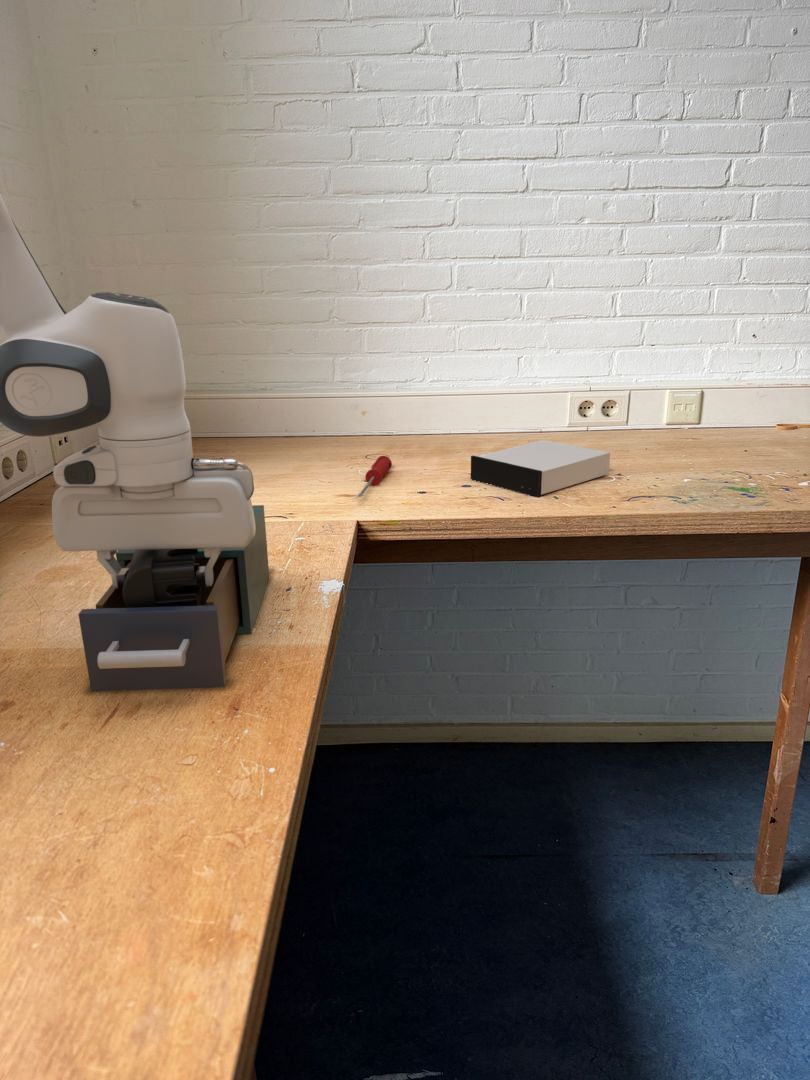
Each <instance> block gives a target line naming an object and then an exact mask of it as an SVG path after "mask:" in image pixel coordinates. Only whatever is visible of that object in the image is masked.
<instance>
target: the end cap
mask: <svg viewBox="0 0 810 1080" xmlns="http://www.w3.org/2000/svg"><path fill="white" fill-rule="evenodd" d="M190 554H198V549H155V550H135V552H134V554H133V557H132V561H131V564H130V567H129V570H128V573H127V576H126V579H125V582H124V586H123V598H124V602H125V604H126V606H127V607H128V608H139V607H175V606H200V599H201V587H198V586H197V579H196V571H197V570H198V567H199V563H197V564H194V563H195V557H194V556H192V557H174V556H177V555H190Z"/></svg>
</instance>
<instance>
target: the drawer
mask: <svg viewBox="0 0 810 1080" xmlns="http://www.w3.org/2000/svg"><path fill="white" fill-rule="evenodd" d="M209 559H210V558H195V563H194V564H197V563H199V566H206V565H207V563H208V561H209ZM131 561H132V560H131ZM131 561H130V562H129V564H128V565H127V566H126V567H125V568H129V567H130V564H131ZM213 577H214V580H213V584H212V586H202V587H201V599H200V606H175V607H139V608H128V607H127V606H126V604H125V602H124V598H123V588H119V589H114V588H113V584H112V583H111V585H110V586H109V588H107V590H106V591H105V592H104V594H103V595H102V596H101V597H100V598H99V600H98V601H97V602H96V604H95V608H82V609H81V610H80V611H79V613H78V614H77V615H78V620H79V626H80V632H81V638H82V645H83V650H84V657H85V662H86V669H87V673H88V674H87V675H88V680H89V686H90V692H117V691H118V692H121V691H122V692H123V691H148V690H149V691H151V690H152V691H153V690H154V691H155V690H180V689H181V690H182V689H183V690H184V689H185V690H187V689H215V688H216V689H217V688H220V689H221V688H226V684H227V676H226V675H227V674H226V667H225V666H226V664H225V663H226V660H227V657H228V654H229V652H230V649H231V647H232V643H233V641H234V638H235V636H236V634H235V633H236V630H237V627H238V625H239V622H240V619H241V608H240V597H239V586H238V575H237V564H236V557H225V558H217V560H216V562H215V564H214V566H213Z"/></svg>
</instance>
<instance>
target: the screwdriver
mask: <svg viewBox="0 0 810 1080" xmlns="http://www.w3.org/2000/svg"><path fill="white" fill-rule="evenodd" d="M392 466H393V462H392V460H391V458H390V457H388V456H387V455H379V456H378V457H377V459H376V460H375V461H374V462H373V464H372V465H371V469H369V470H368V471H366V474H365V481H366V485H365V486H364V487H363V489H362V490H361V491H360V493H358V495H357V497H359V498H361V497H363V496H364V494H365V492H366V491H367V489H368V488H369V487H370V486H377V485H380V483H381V481H382V479H383V478H385V477H386V475H387V474H388V472H389V471H390V469H391V468H392Z"/></svg>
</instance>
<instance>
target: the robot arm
mask: <svg viewBox="0 0 810 1080" xmlns="http://www.w3.org/2000/svg"><path fill="white" fill-rule="evenodd" d="M55 295H56V294H54V292H53V290H52V288H51V287H50V284H49V283H48V281H47V279H46V278H45V276H44V274H43V273H42V271H41V269H40V267H39V266H38V263H37V261H36V260H35V258H34V256H33V255H32V253H31V251H30V249H29V248H28V246H27V244H26V242H25V240H24V238H23V237H22V235H21V233H20V231H19V230H18V228H17V226H16V224H15V222H14V221H13V218H12V217H11V215H10V212H9V210H8V208H7V206H6V203H5V201H4V199H3V196H2V194H1V192H0V329H1V331H2V333H3V336H4V339H5V341H4V342H2V343H0V423H1V425H3V426H4V427H6V428H8V429H9V430H11V431H13V432H15V433H17V434H20V435H23V436H28V437H38V438H39V437H40V438H41V437H43V438H44V437H54V436H59V435H61V434H64V433H69V432H73V431H77V430H81V429H84V428H88V427H96V429H97V432H98V439H99V441H98V442H99V444H96V445H92V446H89V447H87V448H84V449H81V450H78V451H76V452H73V453H72V454H70V455H69V456H67V457H65V458H64V459H62V460H61V461H59V463H57V464H56V465H55V466H54V467H53V470H52V475H53V479H54V481H55V483H56V485H58V486H59V487H58V488H57V489H56V490H55V491H54V494H53V496H52V500H51V519H52V529H53V538H54V541H55V544H57V546H59V548H60V549H62V551H64V552H96V556H97V557H96V558H97V562H99V563H100V565H101V566H102V567H103V568H104V569H105V570H106V573H108V574H109V575H110V577H111V585H112V584H113V588H114V589H119V588H123V586H124V582H125V579H126V576H127V573H128V570H129V568H122V567H121V566H120V564H119V563H118V561H117V559H116V552H117V551H118V550H155V549H200V548H204V555H205V557H210V559H209V561H208V563H207V565H206V566H199V567H198V570H197V571H196V579H197V586H198V587H202V586H212V584H213V580H214V577H213V566H214V564H215V562H216V560H217V558H218V556H219V554H220V552H221V548H242V547H246V546H247V545H248V544H249V543H250V542H251V540H252V539H253V537H254V535H255V531H256V526H255V518H254V512H253V507H252V505H253V504H252V500H251V499H252V497H253V495H254V492H255V486H254V485H255V483H254V474H253V471H252V470H251V468H250V467H249V466H248V465H246V464H245V463H243V462H240V461H238V459H237V458H233V457H232V458H231V457H229V458H224V459H222V458H221V459H217V458H215V459H213V458H194V449H193V442H192V441H193V440H192V432H191V423H190V420H189V418H188V416H187V413H186V409H185V395H186V390H187V388H186V387H187V381H186V373H185V363H184V357H183V350H182V345H181V339H180V335H179V331H178V327H177V324H176V320H175V319H174V317H173V315H172V313H171V312H170V311H169V310H168V309H167V308H166V307H165V306H164V305H162V304H161V303H159V302H158V301H156V300H154V299H152V298H146V297H143V296H138V295H133V294H126V293H119V292H118V293H117V292H116V293H115V292H114V293H113V292H107V291H106V292H105V291H104V292H103V291H102V292H101V291H100V292H95V293H92V294H90V295H89V296H88V297H87V298H86V299H85V300H84V301H83V302H82V303H80V304H79V305H77V306H76V307H75V308H73V309H71V310H70V311H68V312H67V311H66V310H65V309H64V307H63V305H61V303H60V302H59V300H58V299H57V297H56V296H55ZM238 467H239V468H238Z"/></svg>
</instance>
